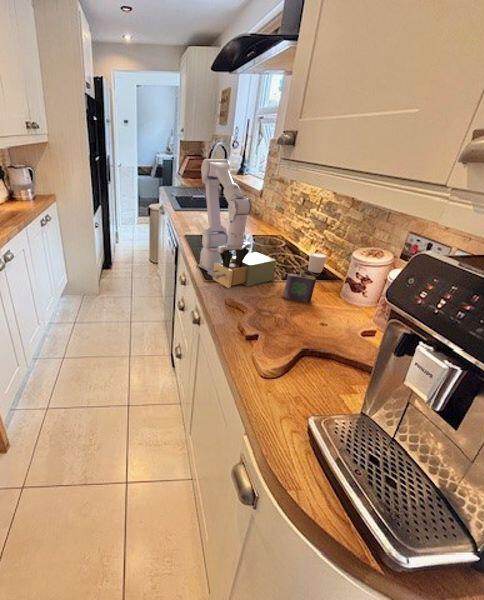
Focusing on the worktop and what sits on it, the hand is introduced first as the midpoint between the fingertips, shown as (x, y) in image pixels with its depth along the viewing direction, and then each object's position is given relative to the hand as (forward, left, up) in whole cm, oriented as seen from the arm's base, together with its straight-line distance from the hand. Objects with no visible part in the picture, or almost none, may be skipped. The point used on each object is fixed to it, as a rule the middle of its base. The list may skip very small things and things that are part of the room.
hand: (231, 268), depth 124 cm
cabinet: (0, +11, -6) cm, 13 cm away
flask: (+22, +12, -7) cm, 26 cm away
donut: (0, 0, -2) cm, 2 cm away
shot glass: (+6, +43, -7) cm, 44 cm away
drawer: (0, -1, -6) cm, 6 cm away
